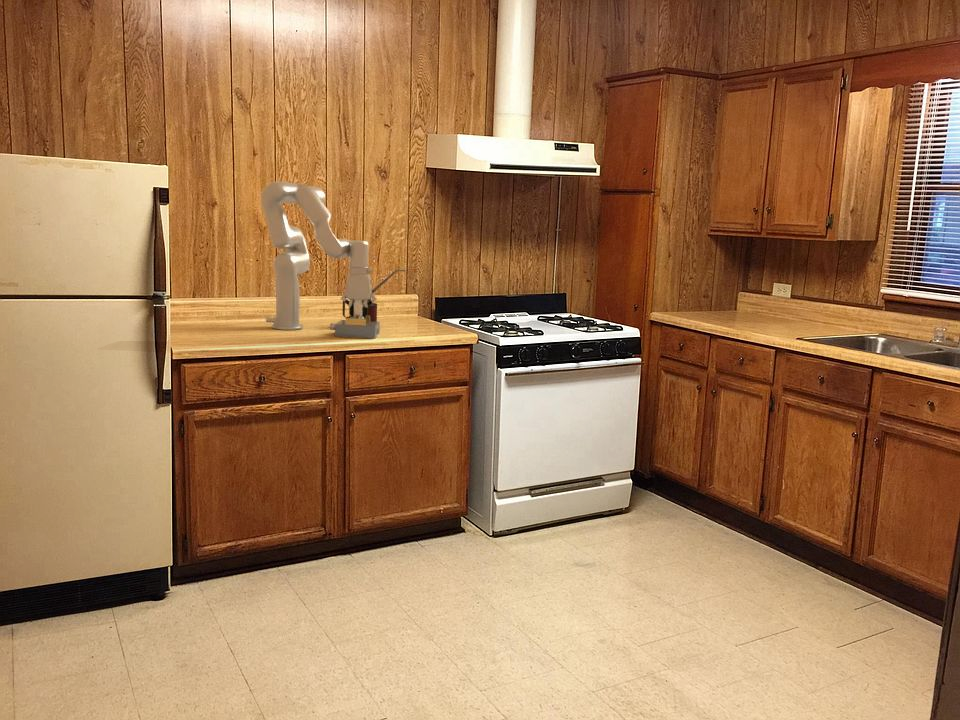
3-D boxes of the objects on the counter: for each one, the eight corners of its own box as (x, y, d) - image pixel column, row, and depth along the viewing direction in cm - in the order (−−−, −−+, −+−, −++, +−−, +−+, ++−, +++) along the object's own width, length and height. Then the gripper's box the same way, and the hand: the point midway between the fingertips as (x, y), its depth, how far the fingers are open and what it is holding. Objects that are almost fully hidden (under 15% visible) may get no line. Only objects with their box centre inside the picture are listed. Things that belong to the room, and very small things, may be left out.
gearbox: (327, 336, 335) (327, 317, 333) (333, 331, 348) (334, 313, 346) (375, 338, 335) (375, 319, 333) (379, 333, 347) (379, 315, 346)
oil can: (347, 329, 355) (348, 270, 351) (339, 325, 365) (340, 268, 361) (408, 327, 368) (410, 270, 364) (399, 324, 378) (401, 268, 373)
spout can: (353, 324, 342) (353, 295, 340) (365, 325, 342) (365, 296, 340) (351, 326, 338) (352, 296, 336) (363, 326, 338) (364, 297, 336)
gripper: (381, 271, 340) (380, 316, 343) (339, 270, 340) (339, 314, 343) (378, 273, 333) (378, 318, 336) (336, 271, 333) (335, 317, 336)
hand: (358, 316), depth 340 cm, fingers closed on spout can, 4 cm apart
